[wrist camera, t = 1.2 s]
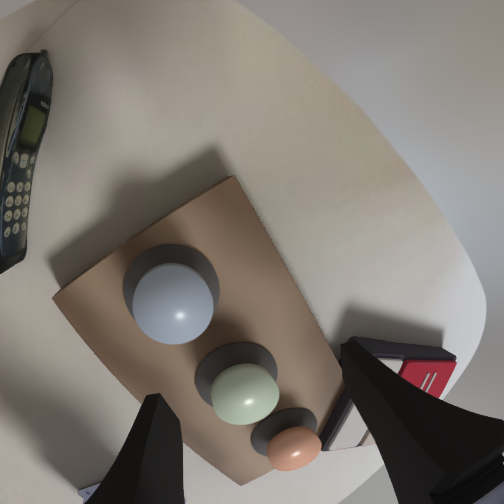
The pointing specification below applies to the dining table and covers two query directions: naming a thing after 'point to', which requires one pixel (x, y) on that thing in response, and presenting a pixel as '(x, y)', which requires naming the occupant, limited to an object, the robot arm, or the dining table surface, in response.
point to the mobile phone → (20, 146)
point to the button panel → (212, 328)
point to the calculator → (404, 364)
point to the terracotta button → (293, 448)
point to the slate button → (172, 303)
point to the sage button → (244, 394)
